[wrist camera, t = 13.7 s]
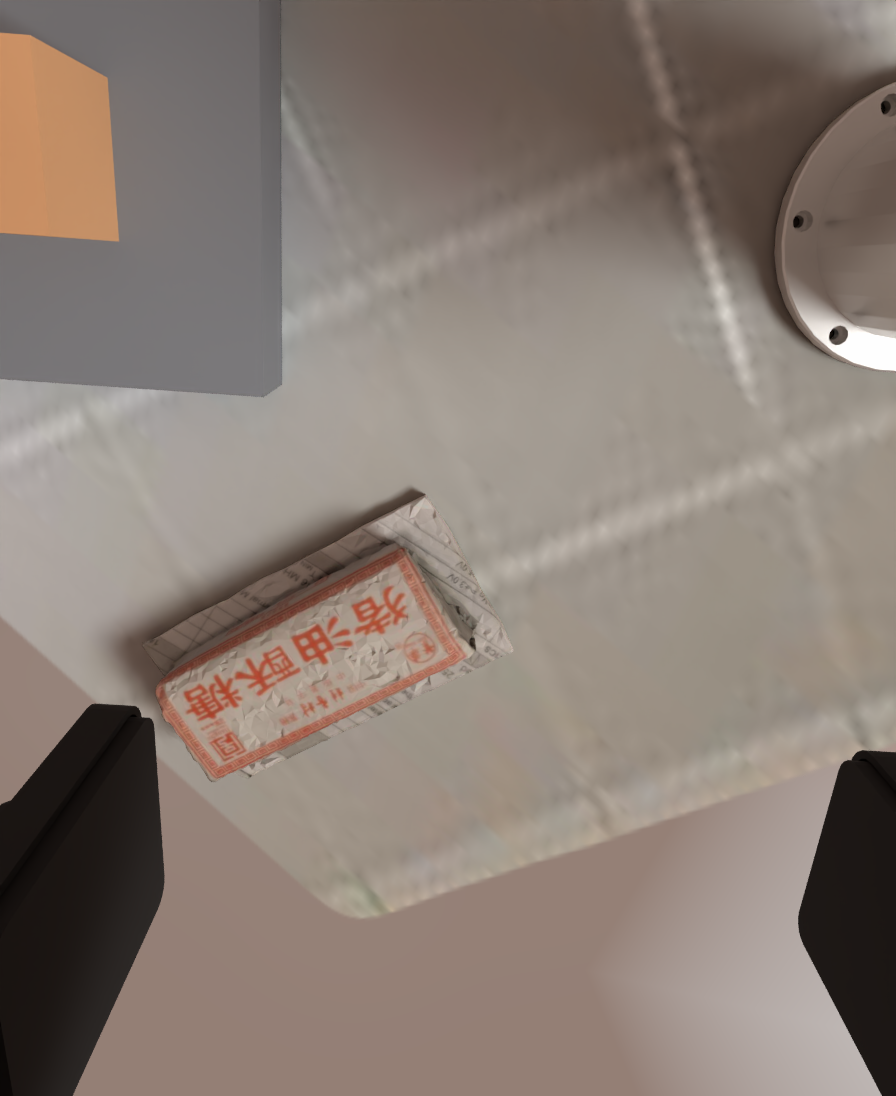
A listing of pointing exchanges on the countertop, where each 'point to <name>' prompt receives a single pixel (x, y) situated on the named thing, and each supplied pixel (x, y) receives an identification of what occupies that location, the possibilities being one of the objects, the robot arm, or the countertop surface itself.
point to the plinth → (162, 206)
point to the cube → (54, 144)
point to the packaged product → (326, 644)
